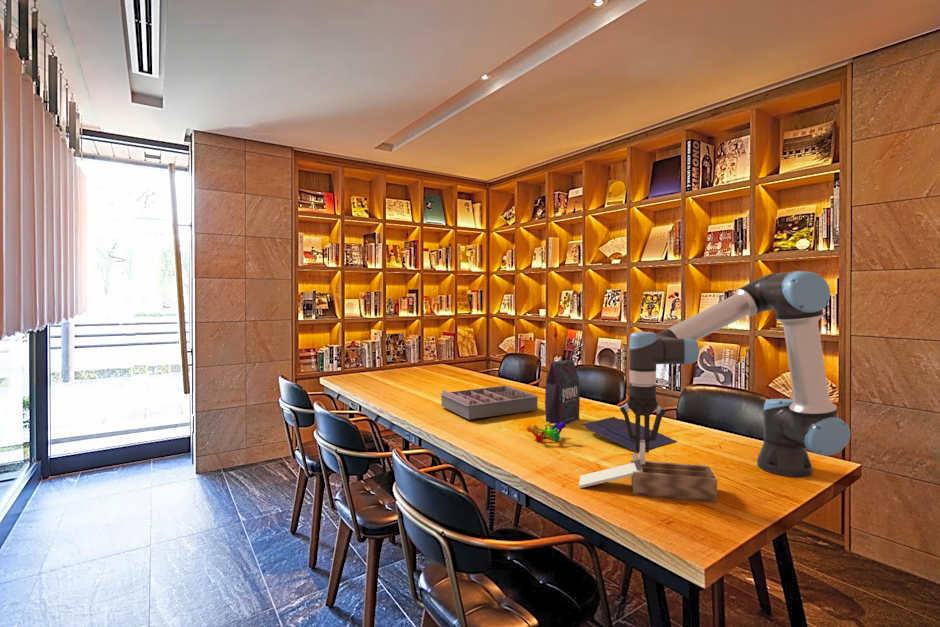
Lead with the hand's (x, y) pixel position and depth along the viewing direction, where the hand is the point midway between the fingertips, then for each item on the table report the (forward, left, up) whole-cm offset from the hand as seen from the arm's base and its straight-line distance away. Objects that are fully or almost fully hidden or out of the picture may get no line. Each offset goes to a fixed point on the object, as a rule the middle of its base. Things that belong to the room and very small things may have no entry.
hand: (642, 462), depth 142 cm
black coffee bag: (+29, -70, -8) cm, 76 cm away
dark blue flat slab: (+2, -51, -8) cm, 52 cm away
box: (-8, 0, -8) cm, 11 cm away
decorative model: (+33, -41, -8) cm, 53 cm away
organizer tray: (+67, -84, -8) cm, 107 cm away
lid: (+9, 0, -5) cm, 10 cm away
